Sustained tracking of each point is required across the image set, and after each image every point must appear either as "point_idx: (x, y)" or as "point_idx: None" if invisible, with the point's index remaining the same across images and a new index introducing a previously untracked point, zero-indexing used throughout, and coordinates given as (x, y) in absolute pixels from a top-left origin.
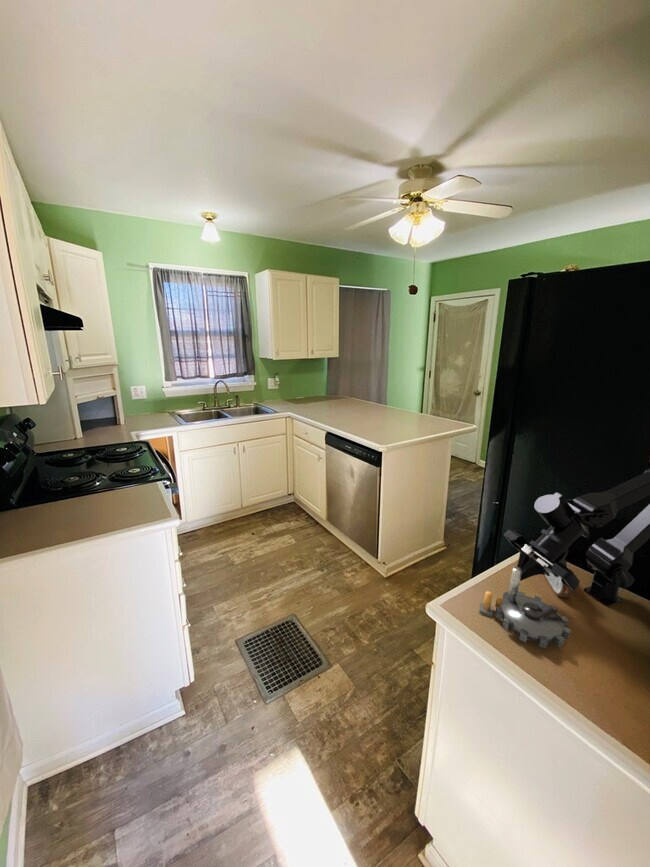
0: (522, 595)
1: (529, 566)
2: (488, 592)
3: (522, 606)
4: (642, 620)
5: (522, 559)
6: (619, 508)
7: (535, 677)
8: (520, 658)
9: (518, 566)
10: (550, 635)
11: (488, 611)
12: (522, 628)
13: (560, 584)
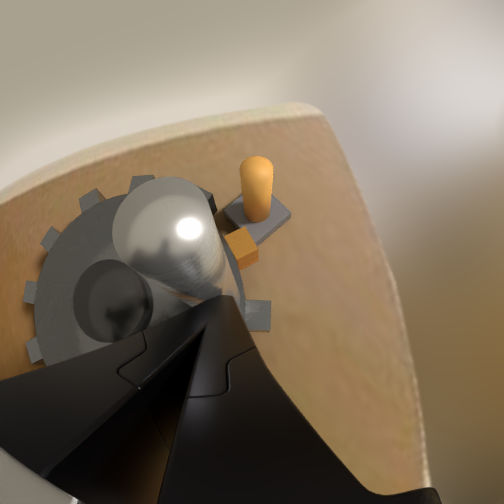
0: None
1: (77, 363)
2: (262, 169)
3: (162, 307)
4: None
5: (219, 410)
6: None
7: (58, 179)
8: (93, 183)
9: (238, 347)
10: (42, 269)
11: (241, 206)
12: (98, 204)
13: None
